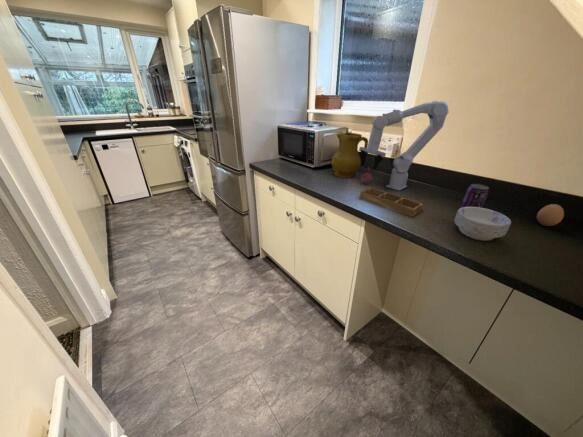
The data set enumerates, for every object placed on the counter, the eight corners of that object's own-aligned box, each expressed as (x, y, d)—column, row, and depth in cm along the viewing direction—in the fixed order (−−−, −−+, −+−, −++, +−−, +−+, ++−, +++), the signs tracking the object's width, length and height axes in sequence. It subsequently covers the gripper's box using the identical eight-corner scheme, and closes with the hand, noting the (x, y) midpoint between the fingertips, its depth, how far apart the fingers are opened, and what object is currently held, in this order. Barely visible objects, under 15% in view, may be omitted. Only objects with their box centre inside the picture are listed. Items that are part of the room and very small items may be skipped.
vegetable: (373, 184, 131) (376, 167, 126) (367, 187, 127) (371, 169, 122) (363, 182, 135) (366, 164, 130) (358, 184, 131) (360, 167, 126)
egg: (529, 223, 93) (541, 203, 89) (536, 219, 96) (548, 199, 92) (552, 231, 88) (566, 209, 83) (559, 226, 91) (572, 206, 86)
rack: (369, 193, 119) (370, 187, 117) (421, 210, 102) (423, 203, 100) (359, 198, 113) (360, 191, 112) (412, 217, 97) (414, 209, 95)
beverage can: (472, 217, 97) (484, 190, 91) (455, 210, 102) (465, 185, 97) (482, 214, 100) (494, 187, 94) (465, 207, 105) (475, 182, 100)
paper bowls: (443, 222, 93) (450, 204, 89) (484, 224, 91) (492, 206, 88) (464, 244, 79) (473, 224, 76) (512, 247, 78) (524, 226, 74)
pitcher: (337, 168, 157) (342, 129, 144) (363, 175, 148) (372, 134, 135) (324, 175, 145) (329, 133, 132) (352, 183, 136) (361, 139, 123)
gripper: (358, 139, 121) (352, 164, 128) (383, 144, 112) (376, 172, 119) (365, 138, 125) (360, 163, 132) (390, 143, 116) (383, 170, 123)
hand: (368, 167), depth 126 cm, fingers open, 7 cm apart
